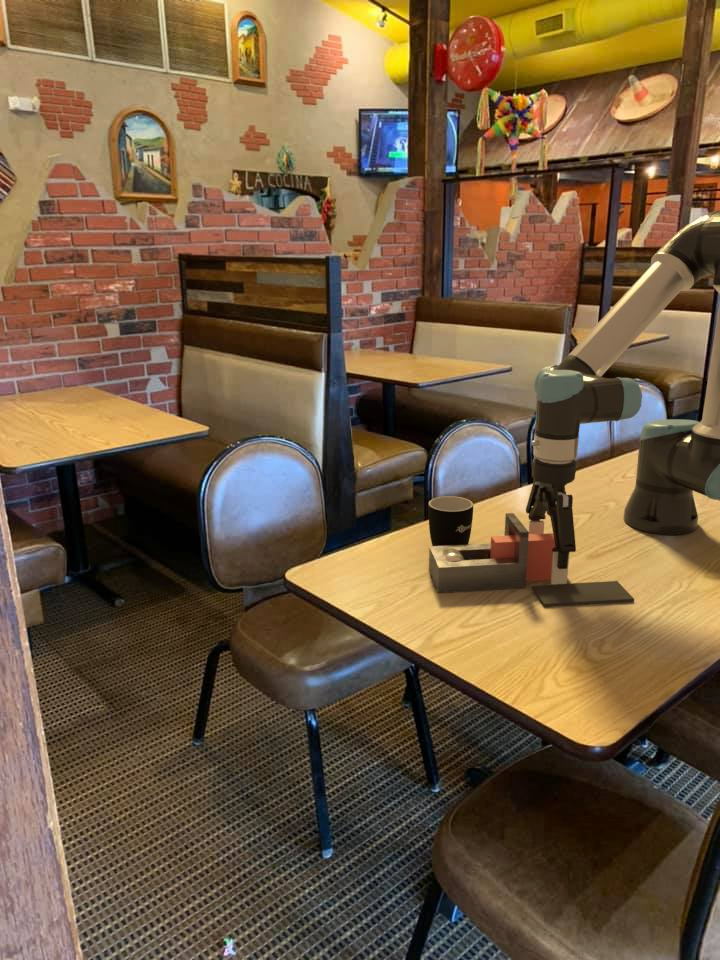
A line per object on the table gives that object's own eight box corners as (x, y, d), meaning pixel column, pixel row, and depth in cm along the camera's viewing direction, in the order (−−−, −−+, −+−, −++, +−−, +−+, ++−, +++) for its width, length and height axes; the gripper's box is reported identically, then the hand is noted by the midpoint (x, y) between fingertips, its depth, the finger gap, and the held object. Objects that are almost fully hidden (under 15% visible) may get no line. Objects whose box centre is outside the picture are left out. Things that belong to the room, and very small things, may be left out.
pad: (616, 583, 132) (617, 580, 132) (633, 601, 125) (634, 598, 125) (531, 588, 130) (531, 585, 130) (543, 606, 124) (544, 603, 124)
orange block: (561, 571, 137) (564, 532, 135) (567, 578, 134) (570, 538, 132) (489, 575, 136) (491, 536, 134) (493, 582, 133) (495, 542, 131)
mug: (456, 562, 142) (457, 514, 138) (419, 551, 147) (419, 504, 144) (487, 543, 150) (489, 498, 147) (451, 533, 156) (452, 489, 153)
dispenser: (510, 566, 140) (513, 513, 136) (525, 588, 131) (528, 532, 127) (428, 570, 138) (429, 516, 135) (438, 592, 129) (439, 536, 126)
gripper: (513, 441, 140) (507, 542, 146) (558, 480, 116) (548, 598, 123) (551, 439, 141) (543, 540, 147) (603, 478, 117) (591, 596, 123)
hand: (546, 567), depth 135 cm, fingers open, 13 cm apart
